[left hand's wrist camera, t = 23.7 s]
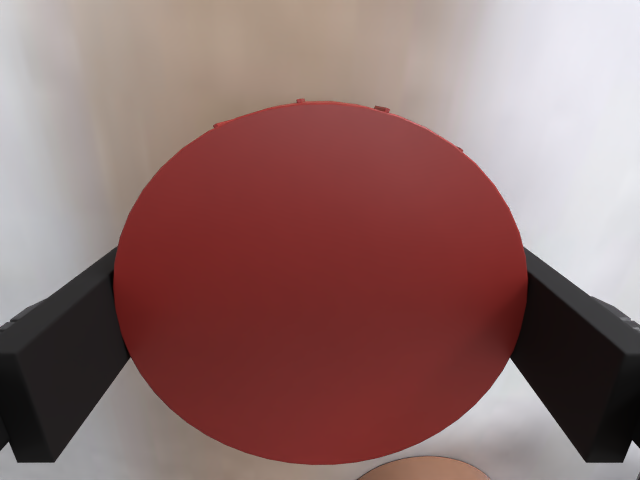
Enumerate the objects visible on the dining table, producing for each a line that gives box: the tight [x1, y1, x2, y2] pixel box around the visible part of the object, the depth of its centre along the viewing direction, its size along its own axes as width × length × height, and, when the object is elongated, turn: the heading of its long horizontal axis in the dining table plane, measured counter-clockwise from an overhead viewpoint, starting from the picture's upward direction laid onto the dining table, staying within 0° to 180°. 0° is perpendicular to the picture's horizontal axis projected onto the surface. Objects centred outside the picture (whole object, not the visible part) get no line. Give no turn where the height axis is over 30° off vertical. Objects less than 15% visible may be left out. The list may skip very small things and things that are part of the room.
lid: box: [113, 99, 528, 465], centre depth 11 cm, size 11×11×2 cm
